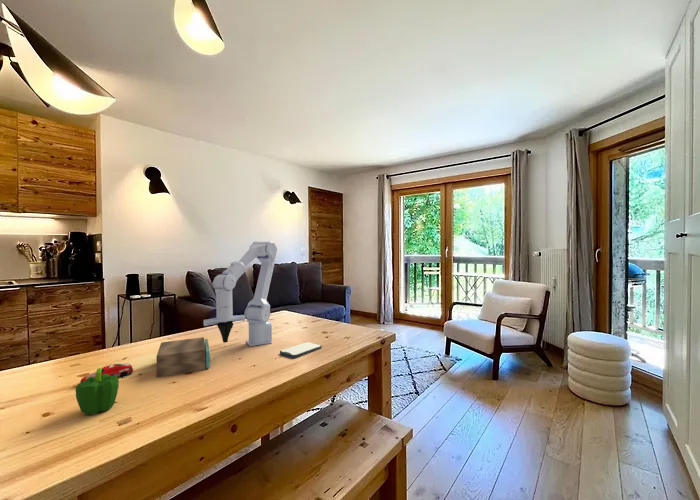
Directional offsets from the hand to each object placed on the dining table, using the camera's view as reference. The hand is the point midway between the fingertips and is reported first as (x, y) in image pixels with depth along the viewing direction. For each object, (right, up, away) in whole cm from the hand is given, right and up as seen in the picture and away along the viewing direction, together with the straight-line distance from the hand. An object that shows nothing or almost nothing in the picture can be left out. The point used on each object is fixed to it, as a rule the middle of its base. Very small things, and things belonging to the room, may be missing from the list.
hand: (225, 341), depth 118 cm
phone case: (+28, -6, +5) cm, 29 cm away
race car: (-29, -6, -21) cm, 36 cm away
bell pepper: (-16, -6, -39) cm, 43 cm away
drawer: (-10, -5, -9) cm, 14 cm away
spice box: (-11, -5, -10) cm, 16 cm away
